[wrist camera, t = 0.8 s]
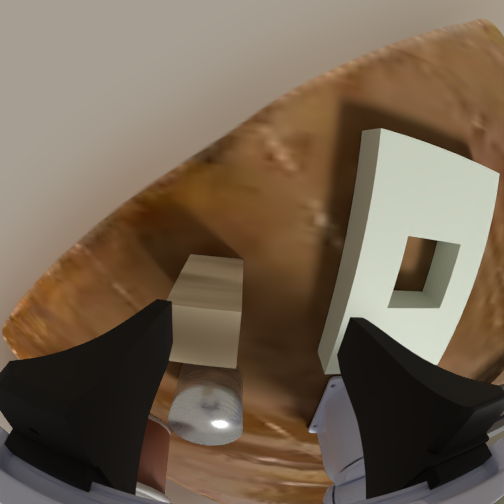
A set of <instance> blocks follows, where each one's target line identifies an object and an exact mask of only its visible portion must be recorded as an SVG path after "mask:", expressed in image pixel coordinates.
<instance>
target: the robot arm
mask: <svg viewBox="0 0 504 504" xmlns="http://www.w3.org/2000/svg"><path fill="white" fill-rule="evenodd" d="M172 345H173V324H172V301H167V300H160V299H157V300H155V301H154V302H152V303H151V304H149V305H148V306H147V307H145V308H144V309H142V310H141V311H140V312H138V313H137V314H135V315H134V316H132V317H131V318H129V319H128V320H126V321H125V322H123V323H122V324H120V325H118V326H117V327H115V328H113V329H112V330H110V331H109V332H107V333H105V334H103V335H101V336H99V337H97V338H95V339H93V340H91V341H89V342H86V343H84V344H81V345H79V346H76V347H73V348H70V349H68V350H65V351H62V352H58V353H54V354H51V355H46V356H42V357H37V358H31V359H23V360H15V361H10V362H9V363H8V364H7V365H6V367H5V368H4V369H3V370H2V371H1V372H0V411H1V412H2V413H3V415H4V417H5V418H6V420H7V421H8V422H9V423H10V425H11V426H12V428H13V430H12V431H11V433H10V434H8V433H7V432H6V431H5V430H4V429H3V428H2V427H0V502H1V503H2V504H171V503H166V502H162V501H157V500H152V499H148V498H144V497H140V496H136V485H137V476H138V469H139V462H140V456H141V450H142V445H143V440H144V435H145V430H146V425H147V421H148V417H149V413H150V410H151V406H152V403H153V401H154V398H155V396H156V393H157V390H158V388H159V385H160V383H161V380H162V378H163V375H164V372H165V370H166V367H167V365H168V362H169V358H170V354H171V349H172ZM337 358H338V363H339V368H340V373H341V376H334V377H332V378H330V379H329V382H328V384H327V387H326V389H325V392H324V394H323V397H322V399H321V401H320V404H319V406H318V408H317V411H316V413H315V415H314V418H313V420H312V422H311V424H310V426H309V429H308V430H309V432H310V433H317V435H318V440H319V445H320V450H321V454H322V459H323V464H324V469H325V472H326V474H327V476H328V477H329V478H330V479H331V480H332V481H333V482H334V485H331V486H329V487H328V489H327V491H326V493H325V495H324V498H323V504H493V503H495V502H496V501H497V500H499V499H500V498H501V497H502V496H504V437H503V438H501V439H499V440H498V441H496V442H494V443H493V444H492V445H490V446H489V447H488V446H487V445H486V443H485V442H487V441H488V440H489V436H488V435H487V433H486V432H487V431H488V430H489V429H490V428H491V427H492V426H493V424H494V423H495V422H496V421H497V420H498V418H499V417H500V416H501V415H502V413H503V412H504V390H503V389H502V388H501V387H500V386H499V385H493V384H488V383H483V382H479V381H475V380H472V379H468V378H465V377H462V376H459V375H457V374H454V373H452V372H449V371H447V370H445V369H442V368H440V367H438V366H436V365H434V364H432V363H430V362H429V361H427V360H425V359H423V358H421V357H420V356H418V355H416V354H415V353H413V352H412V351H410V350H409V349H407V348H406V347H404V346H403V345H401V344H400V343H399V342H397V341H396V340H394V339H393V338H392V337H390V336H389V335H388V334H386V333H385V332H384V331H382V330H381V329H380V328H378V327H377V326H375V325H374V324H373V323H371V322H370V321H368V320H366V319H365V318H363V317H350V319H349V322H348V325H347V328H346V331H345V334H344V337H343V339H342V342H341V345H340V348H339V351H338V353H337ZM332 384H333V385H332Z"/></svg>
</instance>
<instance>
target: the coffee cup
mask: <svg viewBox="0 0 504 504" xmlns="http://www.w3.org/2000/svg"><path fill="white" fill-rule="evenodd" d="M170 436H171V430H170V428H169V427H168V425H167V424H165V423H164V422H163V421H162V420H160V419H158V418H156V417H154V416H152V415H150V414H149V417H148V421H147V425H146V430H145V435H144V440H143V445H142V450H141V456H140V462H139V469H138V476H137V485H136V496H140V497H144V498H148V499H152V500H157V501H162V502H166V503H170V499H169V498H168V497H167V496H166V495H165V482H166V471H167V461H168V451H169V442H170Z"/></svg>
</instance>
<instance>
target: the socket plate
mask: <svg viewBox="0 0 504 504" xmlns="http://www.w3.org/2000/svg"><path fill="white" fill-rule="evenodd" d="M498 182H499V173H497V172H495V171H493V170H491V169H489V168H487V167H484V166H482V165H480V164H478V163H476V162H474V161H471V160H469V159H467V158H465V157H462V156H460V155H457V154H455V153H453V152H450V151H448V150H445V149H443V148H440V147H437V146H435V145H432V144H429V143H426V142H424V141H421V140H418V139H415V138H412V137H409V136H406V135H402V134H399V133H396V132H393V131H389V130H386V129H382V128H378V129H371V130H364V131H362V136H361V145H360V153H359V161H358V168H357V175H356V182H355V189H354V195H353V201H352V207H351V212H350V218H349V223H348V229H347V234H346V239H345V244H344V249H343V253H342V258H341V262H340V267H339V271H338V276H337V280H336V284H335V288H334V292H333V296H332V300H331V304H330V308H329V312H328V316H327V319H326V323H325V326H324V330H323V334H322V337H321V340H320V344H319V347H318V355H319V358H320V361H321V364H322V367H323V370H324V374H341V373H340V368H339V363H338V358H337V353H338V351H339V348H340V345H341V342H342V339H343V337H344V334H345V331H346V328H347V325H348V322H349V319H350V317H363V318H365V319H366V320H368V321H370V322H371V323H373V324H374V325H375V326H377V327H378V328H380V329H381V330H382V331H384V332H385V333H386V334H388V335H389V336H390V337H392V338H393V339H394V340H396V341H397V342H399V343H400V344H401V345H403V346H404V347H406V348H407V349H409V350H410V351H412V352H413V353H415V354H416V355H418V356H420V357H421V358H423V359H425V360H427V361H429V362H430V363H432V364H434V365H437V364H438V362H439V361H440V359H441V357H442V355H443V353H444V351H445V349H446V347H447V345H448V343H449V341H450V339H451V337H452V335H453V333H454V331H455V328H456V326H457V324H458V322H459V319H460V317H461V315H462V312H463V310H464V308H465V305H466V303H467V300H468V297H469V295H470V292H471V289H472V287H473V284H474V281H475V278H476V275H477V272H478V269H479V266H480V263H481V259H482V256H483V253H484V249H485V245H486V242H487V238H488V234H489V230H490V225H491V221H492V216H493V211H494V206H495V201H496V195H497V188H498ZM408 236H413V237H419V238H425V239H432V240H438V241H437V245H436V249H435V252H434V256H433V259H432V263H431V266H430V270H429V273H428V276H427V279H426V282H425V285H424V288H423V291H422V292H420V291H397V290H393V289H394V286H395V283H396V279H397V276H398V272H399V269H400V265H401V262H402V258H403V254H404V251H405V247H406V243H407V238H408Z"/></svg>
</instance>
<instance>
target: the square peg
mask: <svg viewBox="0 0 504 504" xmlns="http://www.w3.org/2000/svg"><path fill="white" fill-rule="evenodd" d="M243 263H244V259H237V258H226V257H215V256H205V255H194V254H190V256H189V258H188V260H187V262H186V263H185V265H184V267H183V269H182V271H181V273H180V275H179V277H178V279H177V281H176V282H175V284H174V286H173V288H172V290H171V292H170V294H169V296H168V298H167V301H172V324H173V345H172V349H171V354H170V358H169V361H174V362H181V363H189V364H197V365H205V366H214V367H225V368H236V363H237V353H238V343H239V334H240V324H241V314H242V289H243Z"/></svg>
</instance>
